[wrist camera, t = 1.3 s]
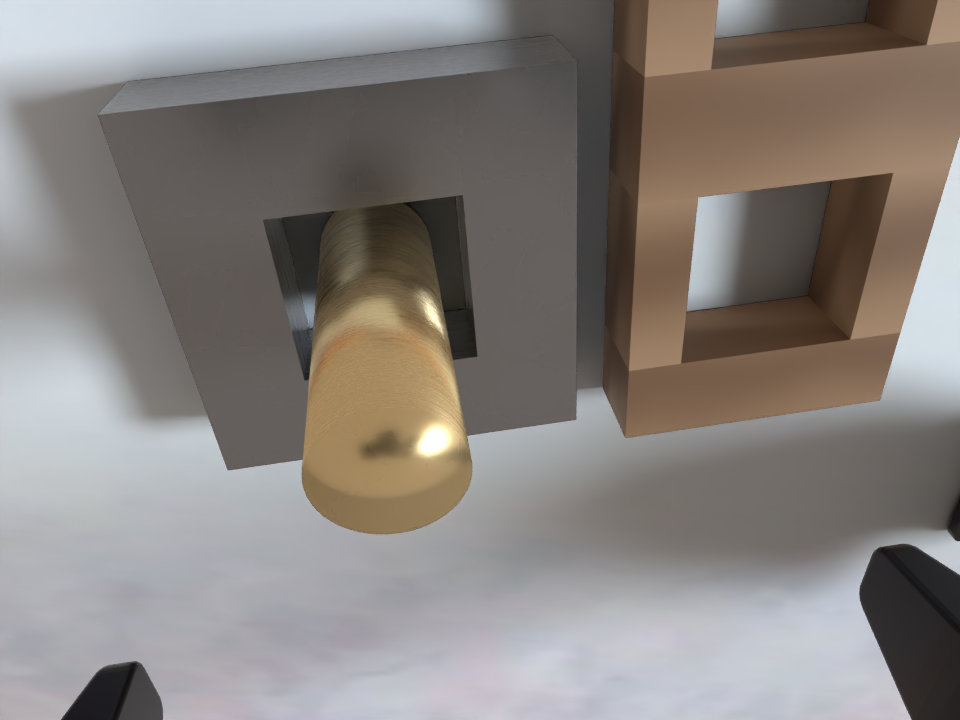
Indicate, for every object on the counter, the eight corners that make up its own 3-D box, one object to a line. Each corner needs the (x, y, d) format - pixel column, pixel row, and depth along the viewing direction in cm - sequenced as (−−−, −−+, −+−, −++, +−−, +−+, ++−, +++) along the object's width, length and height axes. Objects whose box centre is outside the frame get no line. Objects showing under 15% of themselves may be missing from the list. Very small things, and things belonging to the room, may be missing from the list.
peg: (436, 288, 22) (478, 520, 14) (331, 301, 21) (320, 544, 14) (424, 189, 20) (465, 397, 13) (310, 203, 20) (284, 423, 12)
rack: (837, 354, 25) (879, 400, 23) (603, 388, 25) (625, 438, 23) (1024, -399, 15) (1132, -434, 13) (625, -370, 14) (670, -403, 12)
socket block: (557, 369, 24) (576, 419, 22) (238, 414, 23) (227, 470, 21) (552, 35, 18) (577, 61, 16) (127, 81, 17) (97, 114, 15)
